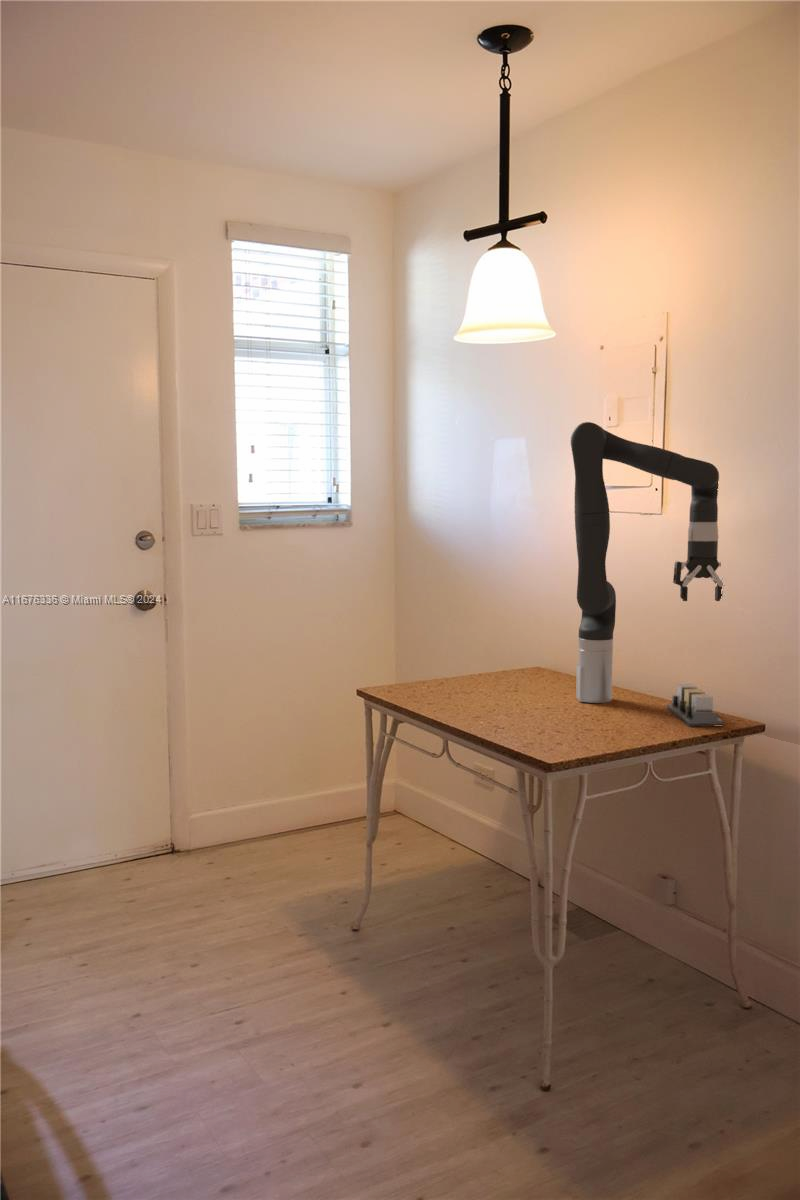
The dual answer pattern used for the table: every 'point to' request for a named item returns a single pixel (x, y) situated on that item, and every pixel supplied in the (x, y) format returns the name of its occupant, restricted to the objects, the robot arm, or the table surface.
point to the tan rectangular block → (690, 696)
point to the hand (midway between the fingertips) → (701, 600)
